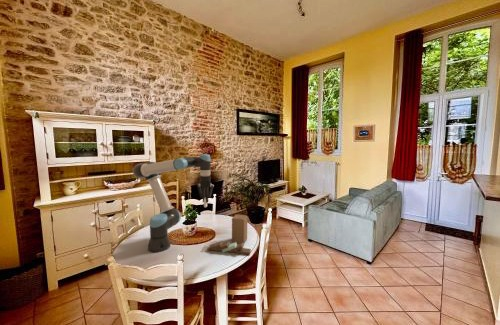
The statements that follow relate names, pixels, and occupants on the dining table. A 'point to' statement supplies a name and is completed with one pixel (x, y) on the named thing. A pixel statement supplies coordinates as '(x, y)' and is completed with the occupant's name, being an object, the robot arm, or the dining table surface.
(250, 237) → the dining table surface
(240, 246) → the domino
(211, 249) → the domino
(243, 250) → the domino
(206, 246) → the runner
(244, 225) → the block
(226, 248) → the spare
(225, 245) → the domino
